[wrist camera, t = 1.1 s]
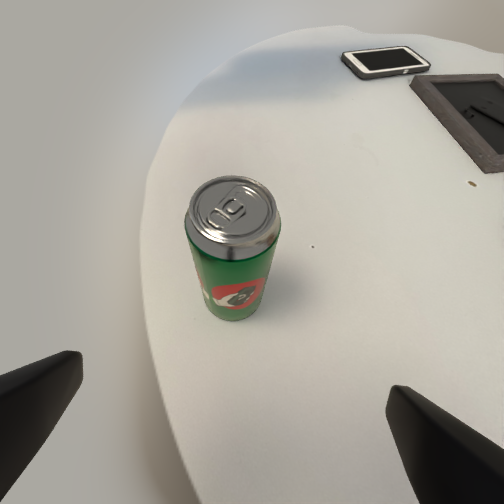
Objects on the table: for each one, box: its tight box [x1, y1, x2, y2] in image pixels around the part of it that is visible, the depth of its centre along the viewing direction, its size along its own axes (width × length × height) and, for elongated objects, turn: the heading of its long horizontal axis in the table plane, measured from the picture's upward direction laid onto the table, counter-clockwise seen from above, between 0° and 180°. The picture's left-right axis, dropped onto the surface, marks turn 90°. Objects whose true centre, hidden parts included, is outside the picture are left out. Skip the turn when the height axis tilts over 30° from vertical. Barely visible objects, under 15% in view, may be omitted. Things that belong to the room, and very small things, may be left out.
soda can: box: [185, 176, 281, 321], centre depth 18 cm, size 5×5×12 cm
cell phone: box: [341, 46, 431, 79], centre depth 46 cm, size 8×15×1 cm, turn 109°
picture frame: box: [409, 74, 504, 173], centre depth 39 cm, size 16×2×21 cm
